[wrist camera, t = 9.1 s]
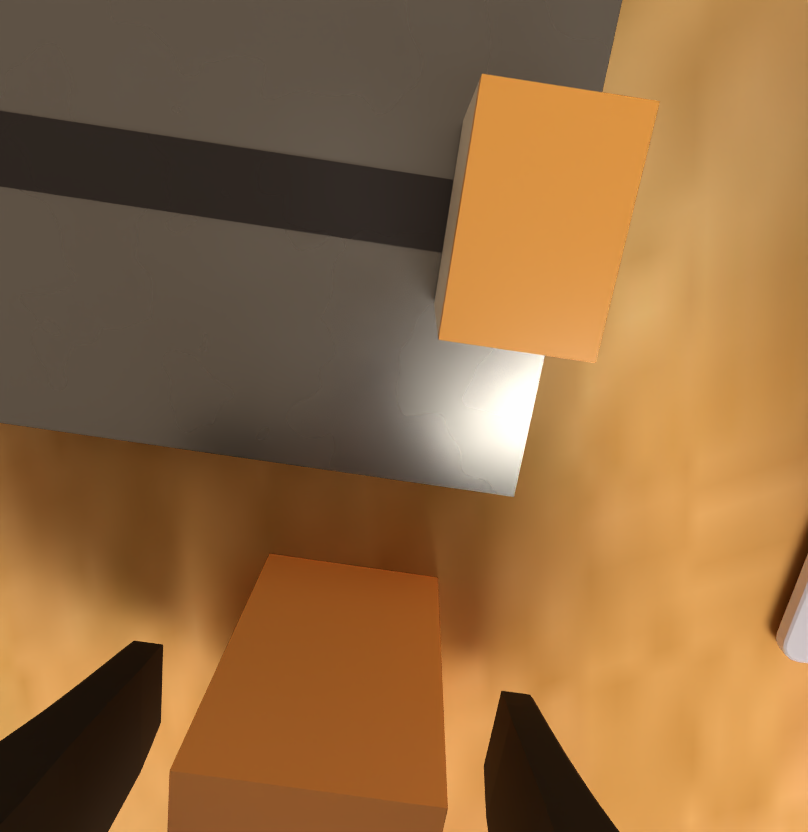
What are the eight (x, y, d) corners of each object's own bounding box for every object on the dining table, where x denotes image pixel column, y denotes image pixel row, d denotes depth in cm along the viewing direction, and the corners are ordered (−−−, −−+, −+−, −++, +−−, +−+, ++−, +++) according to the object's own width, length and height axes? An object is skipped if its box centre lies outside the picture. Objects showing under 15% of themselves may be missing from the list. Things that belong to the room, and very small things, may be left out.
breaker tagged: (584, 139, 10) (659, 101, 7) (545, 322, 11) (595, 362, 8) (462, 120, 10) (481, 73, 7) (434, 305, 11) (438, 340, 8)
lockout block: (437, 576, 15) (447, 808, 9) (412, 712, 16) (407, 991, 10) (269, 553, 14) (169, 770, 9) (257, 690, 16) (163, 960, 10)
